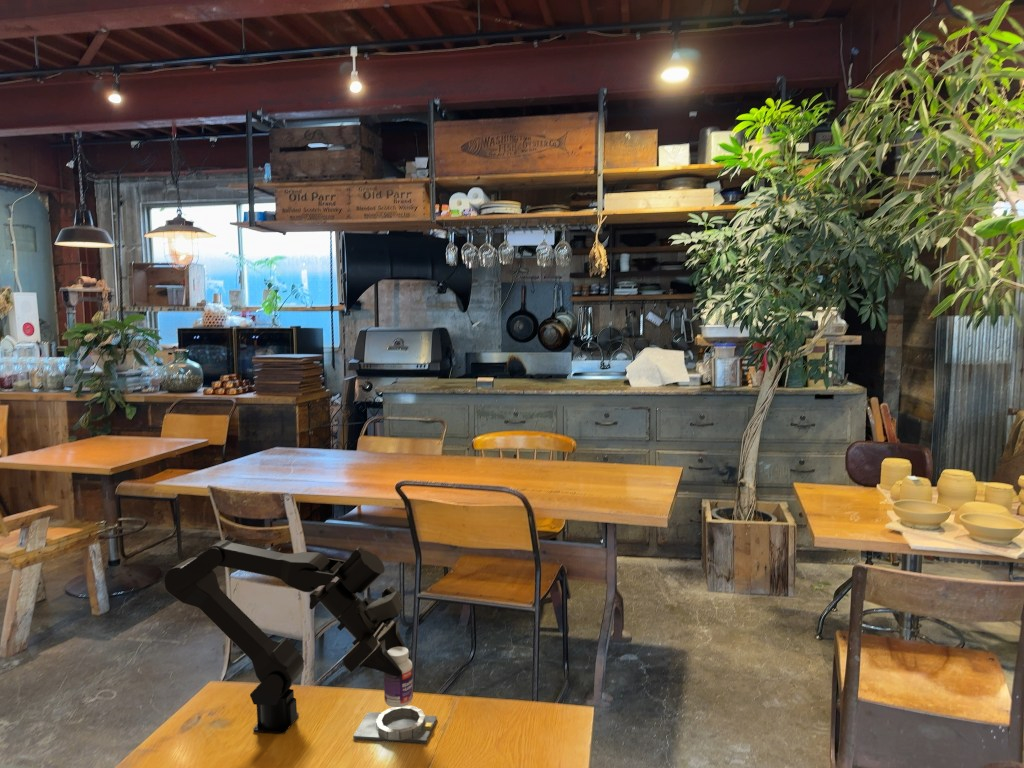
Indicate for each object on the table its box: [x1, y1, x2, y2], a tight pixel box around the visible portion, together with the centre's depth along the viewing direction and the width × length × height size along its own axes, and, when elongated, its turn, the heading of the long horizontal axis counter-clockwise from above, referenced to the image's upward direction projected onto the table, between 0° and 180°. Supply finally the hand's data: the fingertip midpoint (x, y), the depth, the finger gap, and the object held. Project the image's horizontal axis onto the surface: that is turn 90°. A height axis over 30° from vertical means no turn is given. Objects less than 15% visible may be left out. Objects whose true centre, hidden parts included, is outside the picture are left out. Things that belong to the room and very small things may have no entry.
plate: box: [352, 711, 438, 745], centre depth 130 cm, size 14×8×1 cm, turn 82°
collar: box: [376, 705, 432, 740], centre depth 130 cm, size 10×9×2 cm
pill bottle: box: [383, 647, 414, 708], centre depth 129 cm, size 5×5×10 cm
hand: (405, 667), depth 129 cm, fingers closed on pill bottle, 5 cm apart
